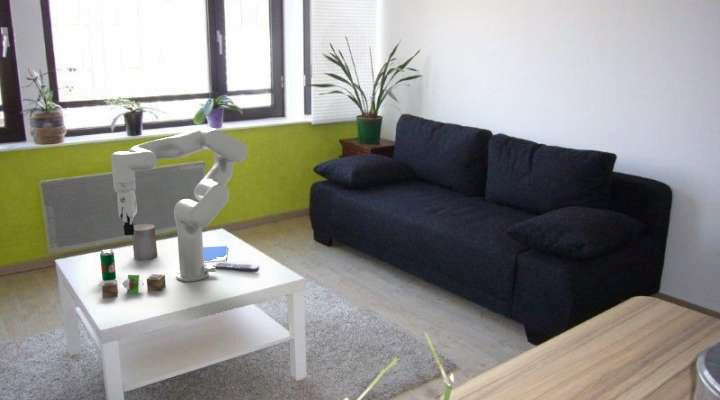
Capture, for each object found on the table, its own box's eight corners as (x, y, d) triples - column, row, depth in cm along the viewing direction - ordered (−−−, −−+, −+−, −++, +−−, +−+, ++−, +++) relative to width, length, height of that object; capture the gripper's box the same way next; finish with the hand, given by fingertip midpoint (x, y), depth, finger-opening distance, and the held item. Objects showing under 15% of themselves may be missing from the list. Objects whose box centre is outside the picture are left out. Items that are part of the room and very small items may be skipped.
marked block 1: (117, 292, 241) (116, 278, 240) (117, 297, 237) (116, 283, 236) (103, 293, 240) (102, 280, 239) (102, 298, 235) (101, 285, 234)
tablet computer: (227, 262, 275) (226, 259, 275) (196, 264, 273) (196, 261, 273) (228, 248, 294) (228, 245, 293) (200, 249, 292) (199, 247, 291)
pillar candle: (148, 251, 287) (145, 219, 283) (162, 255, 281) (159, 223, 278) (129, 257, 279) (125, 224, 276) (143, 262, 274) (139, 228, 270)
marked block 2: (165, 287, 246) (164, 274, 245) (160, 291, 242) (159, 278, 240) (153, 286, 247) (152, 273, 246) (147, 291, 242) (146, 278, 241)
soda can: (111, 282, 250) (108, 253, 247) (99, 281, 251) (97, 252, 248) (118, 278, 255) (116, 249, 252) (107, 277, 256) (104, 248, 253)
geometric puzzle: (129, 281, 246) (123, 270, 240) (147, 281, 246) (141, 270, 240) (124, 297, 242) (118, 286, 235) (142, 297, 241) (136, 286, 235)
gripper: (131, 190, 225) (136, 240, 229) (139, 181, 239) (143, 228, 244) (109, 191, 224) (114, 241, 228) (118, 181, 238) (123, 229, 243)
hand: (129, 234), depth 236 cm, fingers closed
